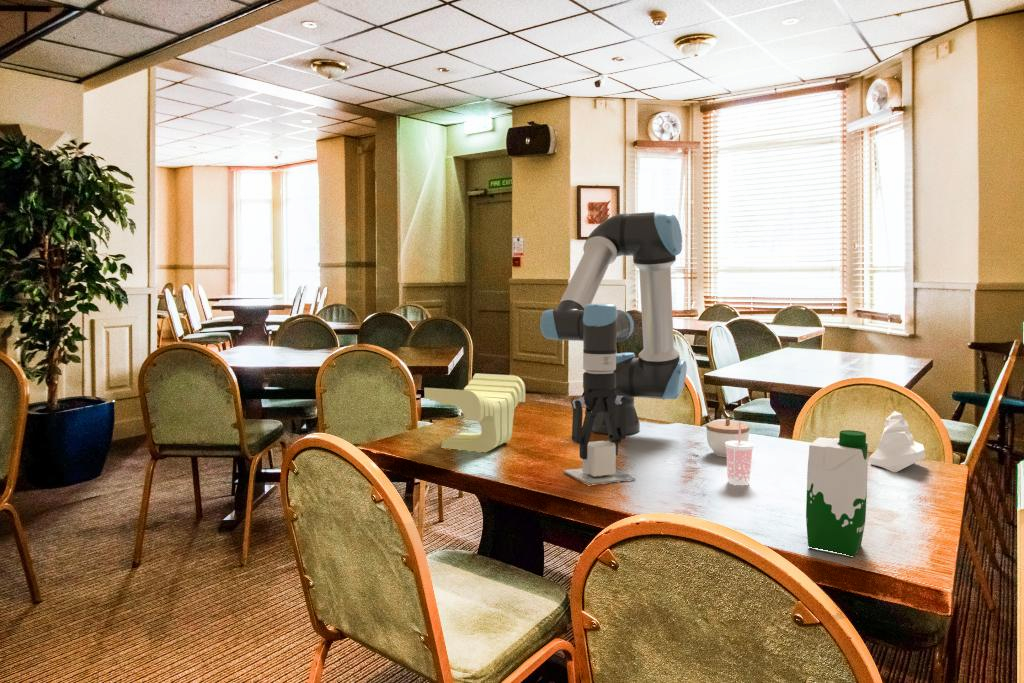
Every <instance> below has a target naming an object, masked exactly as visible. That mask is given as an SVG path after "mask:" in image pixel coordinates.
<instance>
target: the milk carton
mask: <svg viewBox="0 0 1024 683" xmlns="http://www.w3.org/2000/svg"><path fill="white" fill-rule="evenodd" d="M868 451H869V443H868V442H867V433H866V432H864V431H859V430H848V429H847V430H845V429H844V430H840V431H839V436H838V438H837V437H834V438H829V437H822V436H819V437H817V438H816V439H815V440H814V441H812V442H811V443H810V444H809V448H808V460H807V470H806V471H807V474H806V479H807V480H806V500H805V501H806V504H805V519H806V521H805V522H806V536H807V547H808V546H809V547H812V548H818V549H823V550H828V551H833V552H837V553H842V554H846V555H849V556H855V557H856V555H855V554H857V553H858V551H859V549H860V548H861V545H862V541H863V536H864V531H865V526H866V520H867V519H866V518H867V517H866V515H867V496H868V495H867V493H868V492H867V491H868V472H869V471H868V465H869V464H868V463H869V456H868V454H869V452H868ZM859 547H860V548H859ZM856 552H857V553H856Z"/></svg>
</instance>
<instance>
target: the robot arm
mask: <svg viewBox="0 0 1024 683" xmlns="http://www.w3.org/2000/svg"><path fill="white" fill-rule="evenodd" d="M682 244H683V236H682V230H681V226H680V222H679V220H678V218H677V216H676V215H675V214H674V213H673V212H669V211H668V212H667V211H665V212H664V211H647V212H636V213H635V212H634V213H620V214H619V213H618V214H615V215H613V216H609V217H608V218H607V219H605V220H604V221H602V222H600V224H599V225H597V226H596V227H595V228H594V229H593V230H592V231H591V232H590V234H589V235H588V236H587V238H586V240H585V242H584V244H583V247H582V248H583V250H582V251H583V255H582V256H581V259H580V261H579V262H578V265H577V267H576V268H575V271H574V273H573V275H572V276H571V279H570V280H569V282H568V284H567V286H566V289H565V291H564V292H563V294H562V297H561V299H560V301H559V303H558V304H557V306H556V309H554V308H551V309H546V310H544V311H543V312H542V314H541V316H540V322H539V324H540V326H539V328H540V331H541V335H542V336H543V337H544V338H545V339H548V340H554V341H571V342H572V341H573V342H574V341H575V342H576V341H580V342H582V343H583V345H582V346H583V352H582V353H583V354H582V369H583V370H584V372H583V374H582V389H583V392H582V395H581V397H578V398H577V399H575V398H572V399H571V401H570V404H571V407H572V423H571V441H572V442H574V443H576V444H578V445H579V458H580V459H581V460H582V459H583V472H585V473H587V474H591V445H588V442H590V438H591V434H592V432H593V433H597V434H602V435H608V438H609V440H606V442H608V443H611V444H613V445H616V456H618V455H619V444H620V443H621V441H622V440H625V439H626V438H627V435H632V434H635V433H639V432H640V430H641V428H640V427H641V426H640V420H639V416H638V414H637V411H636V406H635V398H643V399H644V398H647V399H657V400H663V401H664V400H676V399H678V398H679V397H680V396H681V394H682V392H683V389H684V387H685V383H686V377H687V368H688V367H687V361H686V360H684V359H680V352H679V350H677V349H676V348H675V346H674V324H673V323H674V322H673V296H672V268H671V267H672V266H673V264H674V263H675V262H676V260H677V257H676V256H679V255H680V254H681V252H682V248H683V245H682ZM622 256H630V257H631V256H632V258H633V259H632V260H633V261H632V262H633V265H635V266H636V267H637V268H638V270H639V272H638V273H639V285H640V286H639V287H640V288H639V289H640V290H639V292H640V304H641V306H640V307H641V326H642V343H643V346H642V347H643V349H642V350H641V351H640V352H639V353H638V357H636V355H635V352H620V353H617V343H621V342H623V341H625V340H627V339H629V337H630V336H632V334H633V332H634V327H635V322H634V320H633V317H632V316H631V314H629V313H628V312H627V311H625V310H621V309H617V306H616V304H613V303H593V300H594V299H595V296H596V295H597V292H598V290H599V288H600V286H601V283H602V282H603V281H602V280H603V279H604V277H605V274H606V272H607V271H608V267H609V266H610V265H611V264H613V263H614V262H615V261H616V259H617V258H618V257H622ZM584 404H585V412H584V414H585V415H584V418H583V411H584V410H583V407H584Z"/></svg>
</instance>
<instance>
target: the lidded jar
mask: <svg viewBox="0 0 1024 683" xmlns="http://www.w3.org/2000/svg"><path fill="white" fill-rule="evenodd" d="M705 426H706V427H705V428H706V439H707V443H708V446H709V448H710V449H711V450H712V451H713V453H714V455H715V456H718V457H721V458H727V453H726V447H725V442H727V441H738V435H739V421H738V422H737V421H731V419H730V418H726V419H725V421H724V420H723V421H711V422H710V421H709V422H708V423H706V425H705ZM749 436H750V425H748V424H746V423H742V422H741V441H746V442H749Z"/></svg>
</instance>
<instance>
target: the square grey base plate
mask: <svg viewBox="0 0 1024 683" xmlns="http://www.w3.org/2000/svg"><path fill="white" fill-rule="evenodd" d="M565 473H566V474H565ZM563 474H565V475H567V474H568V475H567V476H569V475H570V476H572V477H574V478H576V479H578V480H580V481H582V482H584V483H586V484H588V485H592V484H602V483H610V482H618V481H625V482H629V481H628V480H633V481H636V477H635V476H633V475H630V474H628V473H626V472H625V471H622V470H619V469H617V468H616V474H611V475H603V476H595V477H594V476H592V475H590V474H587V473H585V472H583V471H582V467H581V468H570V469H563ZM570 476H569V477H570ZM572 477H571V478H572ZM574 478H573V479H574ZM576 479H575V480H576ZM578 480H577V481H578ZM580 481H579V482H580ZM582 482H581V483H582ZM618 483H619V482H618ZM610 484H611V483H610ZM602 485H603V484H602Z"/></svg>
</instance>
